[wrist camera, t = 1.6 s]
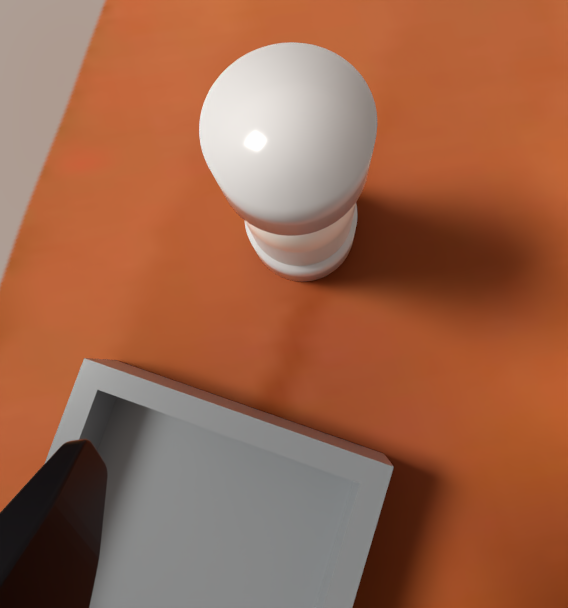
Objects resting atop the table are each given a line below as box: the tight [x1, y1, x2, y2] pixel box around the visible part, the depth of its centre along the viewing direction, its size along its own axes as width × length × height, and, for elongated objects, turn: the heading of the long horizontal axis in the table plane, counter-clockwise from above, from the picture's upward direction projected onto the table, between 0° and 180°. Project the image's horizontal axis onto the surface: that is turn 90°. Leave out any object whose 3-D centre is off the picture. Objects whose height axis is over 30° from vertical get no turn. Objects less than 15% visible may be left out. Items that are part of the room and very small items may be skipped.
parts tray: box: [45, 358, 394, 608], centre depth 20 cm, size 13×13×3 cm
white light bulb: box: [199, 43, 377, 282], centre depth 18 cm, size 5×5×10 cm
